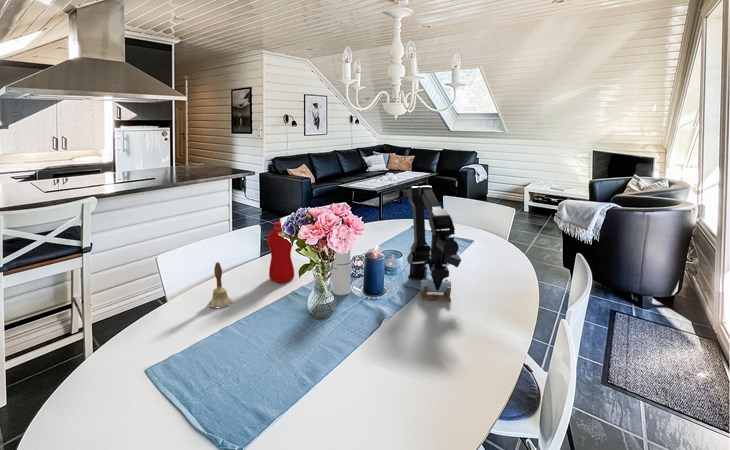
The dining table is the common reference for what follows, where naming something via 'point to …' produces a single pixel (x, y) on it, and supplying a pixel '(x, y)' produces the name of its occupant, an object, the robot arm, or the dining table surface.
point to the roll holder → (436, 294)
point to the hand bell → (219, 290)
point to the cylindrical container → (341, 274)
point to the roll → (432, 288)
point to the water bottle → (280, 256)
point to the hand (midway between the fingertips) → (436, 284)
